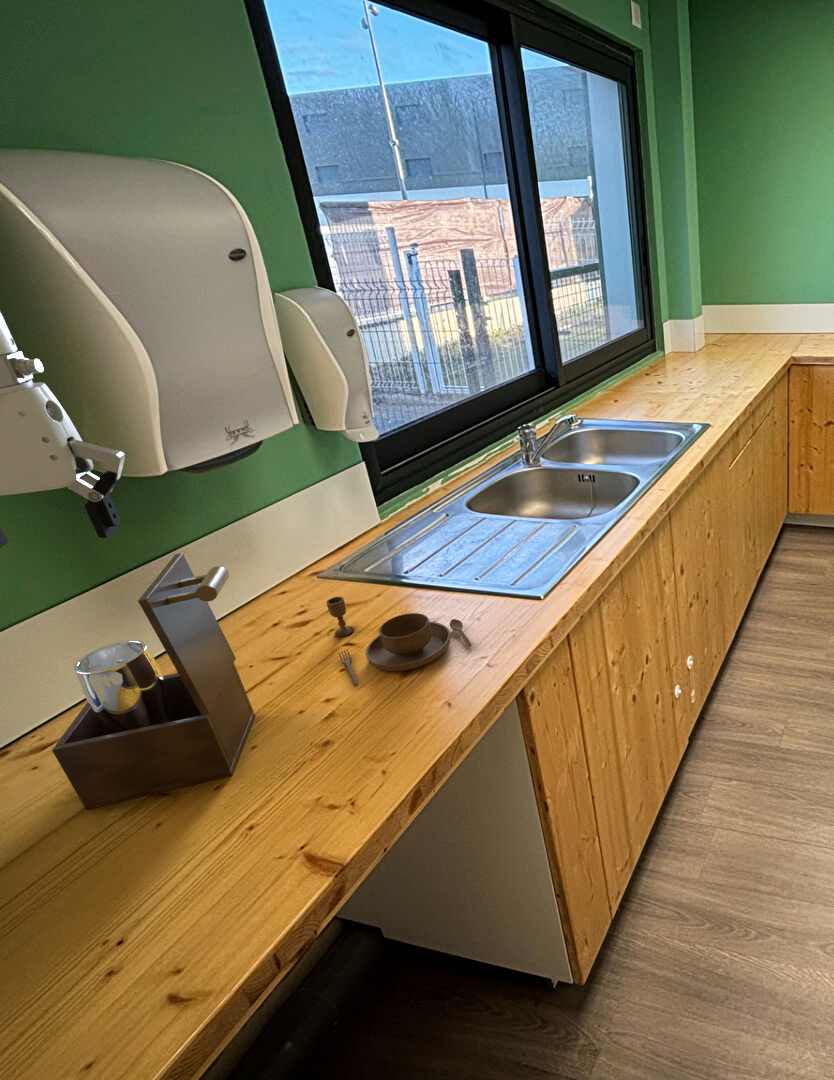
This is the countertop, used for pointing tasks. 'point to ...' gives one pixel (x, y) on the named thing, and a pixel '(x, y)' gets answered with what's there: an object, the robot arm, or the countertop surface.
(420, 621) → the place setting
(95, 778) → the chest
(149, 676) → the beer glass
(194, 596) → the lid
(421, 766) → the countertop surface
